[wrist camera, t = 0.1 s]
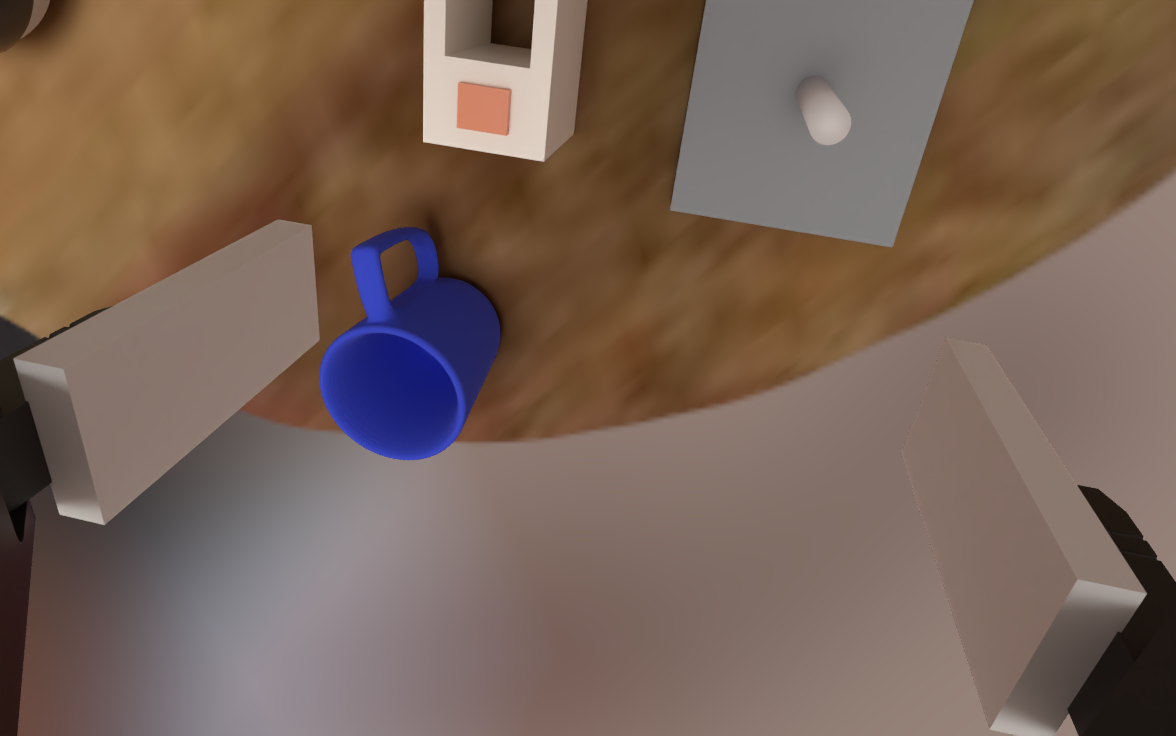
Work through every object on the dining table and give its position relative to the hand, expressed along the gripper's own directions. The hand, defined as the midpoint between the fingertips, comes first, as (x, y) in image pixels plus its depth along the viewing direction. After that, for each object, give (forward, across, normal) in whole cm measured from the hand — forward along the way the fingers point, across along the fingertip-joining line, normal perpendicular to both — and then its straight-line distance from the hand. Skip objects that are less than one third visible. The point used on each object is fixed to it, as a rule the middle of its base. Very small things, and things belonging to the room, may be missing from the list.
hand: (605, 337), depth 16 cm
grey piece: (+28, +6, +7) cm, 29 cm away
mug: (+28, -13, -13) cm, 34 cm away
